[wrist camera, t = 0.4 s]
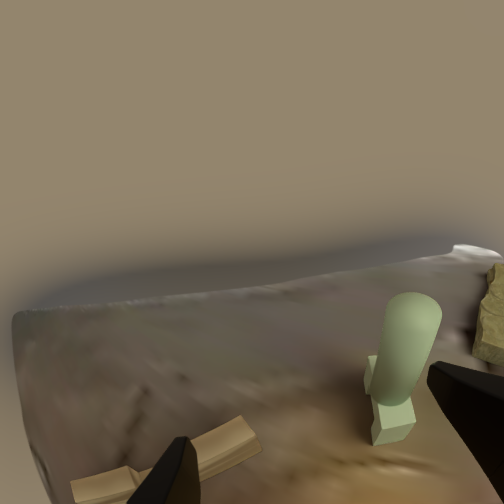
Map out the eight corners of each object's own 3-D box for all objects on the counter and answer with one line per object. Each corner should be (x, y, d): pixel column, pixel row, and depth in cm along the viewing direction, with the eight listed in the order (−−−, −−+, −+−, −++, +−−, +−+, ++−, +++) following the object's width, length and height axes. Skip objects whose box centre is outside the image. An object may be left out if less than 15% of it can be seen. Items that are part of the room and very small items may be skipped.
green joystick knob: (408, 438, 18) (462, 349, 12) (367, 447, 18) (403, 363, 12) (394, 374, 24) (419, 273, 18) (358, 380, 25) (373, 279, 19)
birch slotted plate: (262, 450, 20) (255, 434, 18) (101, 512, 13) (75, 502, 11) (249, 433, 22) (240, 415, 20) (94, 494, 15) (70, 481, 13)
